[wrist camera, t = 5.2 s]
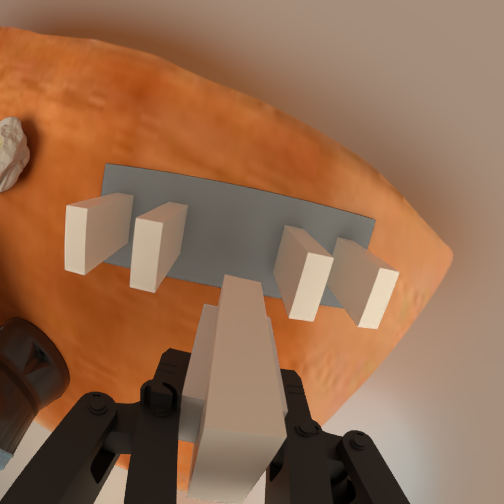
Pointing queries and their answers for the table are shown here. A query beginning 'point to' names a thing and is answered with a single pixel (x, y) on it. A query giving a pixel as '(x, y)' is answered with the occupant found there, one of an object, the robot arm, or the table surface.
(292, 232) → the domino
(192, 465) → the domino
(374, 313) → the domino
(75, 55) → the table surface
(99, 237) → the domino
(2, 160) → the fossil replica
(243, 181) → the table surface
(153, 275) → the domino
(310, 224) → the mat
